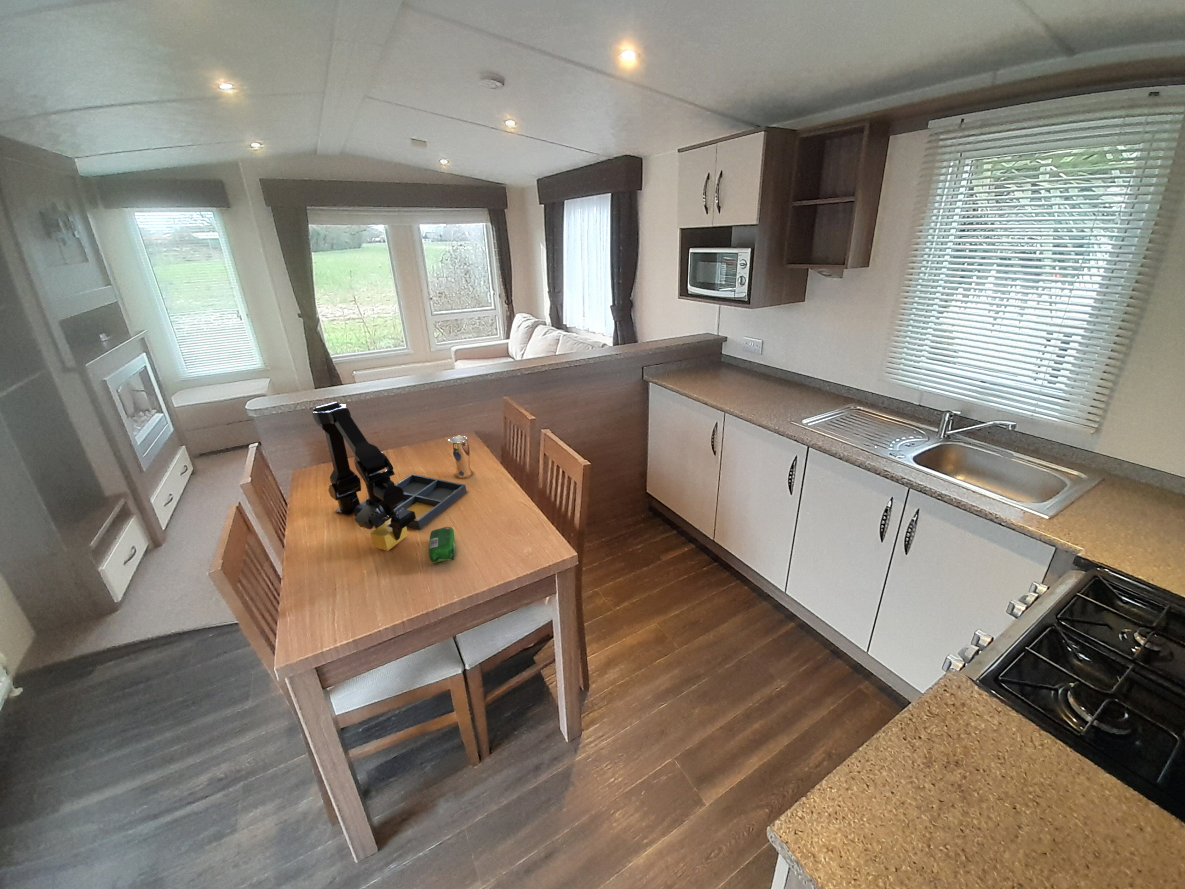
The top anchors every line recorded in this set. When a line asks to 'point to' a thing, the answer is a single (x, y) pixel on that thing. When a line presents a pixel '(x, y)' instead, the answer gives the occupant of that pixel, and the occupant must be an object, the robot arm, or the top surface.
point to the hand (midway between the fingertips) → (390, 537)
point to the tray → (427, 497)
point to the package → (386, 536)
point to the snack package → (442, 544)
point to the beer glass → (461, 456)
